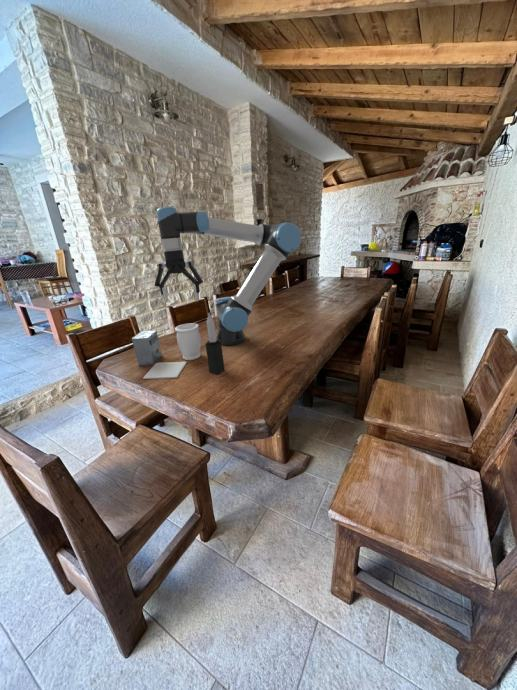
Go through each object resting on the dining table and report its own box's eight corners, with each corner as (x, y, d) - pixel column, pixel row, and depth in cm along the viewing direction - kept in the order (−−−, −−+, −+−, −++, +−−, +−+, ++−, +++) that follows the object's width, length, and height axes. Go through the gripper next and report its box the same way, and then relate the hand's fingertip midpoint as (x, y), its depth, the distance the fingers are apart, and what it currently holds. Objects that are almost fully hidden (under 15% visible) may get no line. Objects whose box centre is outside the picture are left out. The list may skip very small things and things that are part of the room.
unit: (163, 355, 133) (157, 330, 129) (154, 364, 124) (148, 338, 119) (147, 356, 134) (141, 331, 129) (138, 365, 125) (131, 338, 120)
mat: (186, 362, 124) (186, 361, 124) (176, 378, 111) (176, 376, 111) (156, 363, 125) (156, 362, 125) (143, 379, 112) (142, 377, 112)
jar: (197, 361, 124) (192, 330, 119) (176, 361, 126) (170, 330, 121) (206, 352, 134) (201, 322, 128) (186, 351, 136) (181, 322, 130)
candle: (217, 374, 112) (209, 315, 102) (208, 372, 114) (199, 314, 105) (225, 369, 115) (218, 311, 106) (216, 367, 118) (208, 310, 109)
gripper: (205, 247, 115) (212, 297, 123) (147, 251, 116) (157, 300, 124) (200, 248, 108) (208, 301, 116) (139, 252, 109) (150, 304, 118)
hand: (182, 301), depth 120 cm, fingers open, 13 cm apart
